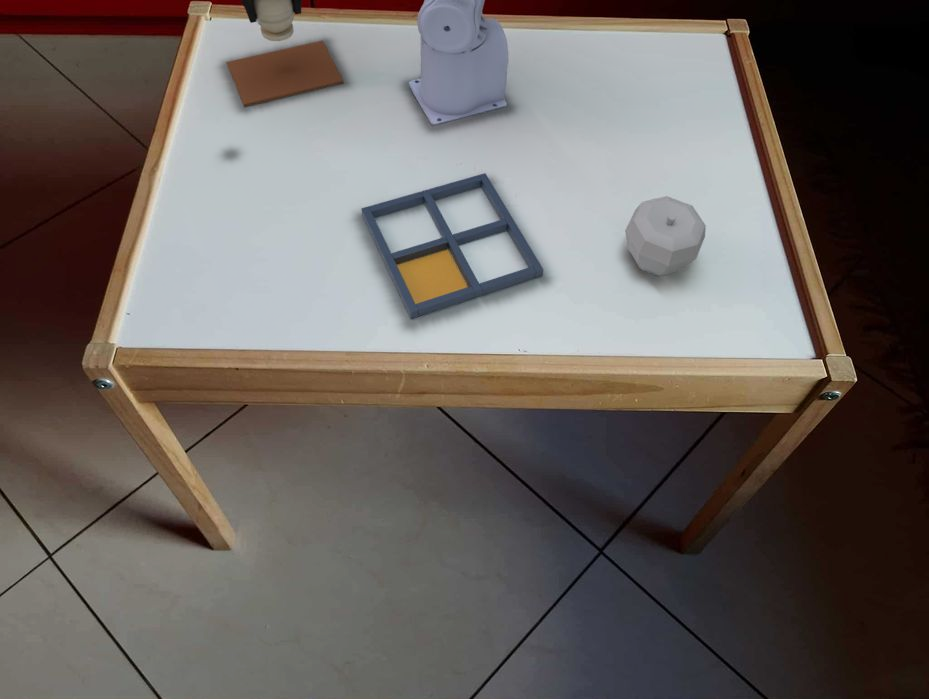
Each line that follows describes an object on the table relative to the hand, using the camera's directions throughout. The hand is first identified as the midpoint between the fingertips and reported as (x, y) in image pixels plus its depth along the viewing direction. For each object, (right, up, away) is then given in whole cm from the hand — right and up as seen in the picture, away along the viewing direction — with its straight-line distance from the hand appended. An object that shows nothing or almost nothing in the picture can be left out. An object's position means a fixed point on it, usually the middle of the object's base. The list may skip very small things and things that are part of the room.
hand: (273, 13), depth 83 cm
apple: (+41, -28, -6) cm, 50 cm away
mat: (0, -4, +7) cm, 8 cm away
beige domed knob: (0, -1, +2) cm, 2 cm away
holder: (+20, -27, -6) cm, 34 cm away
